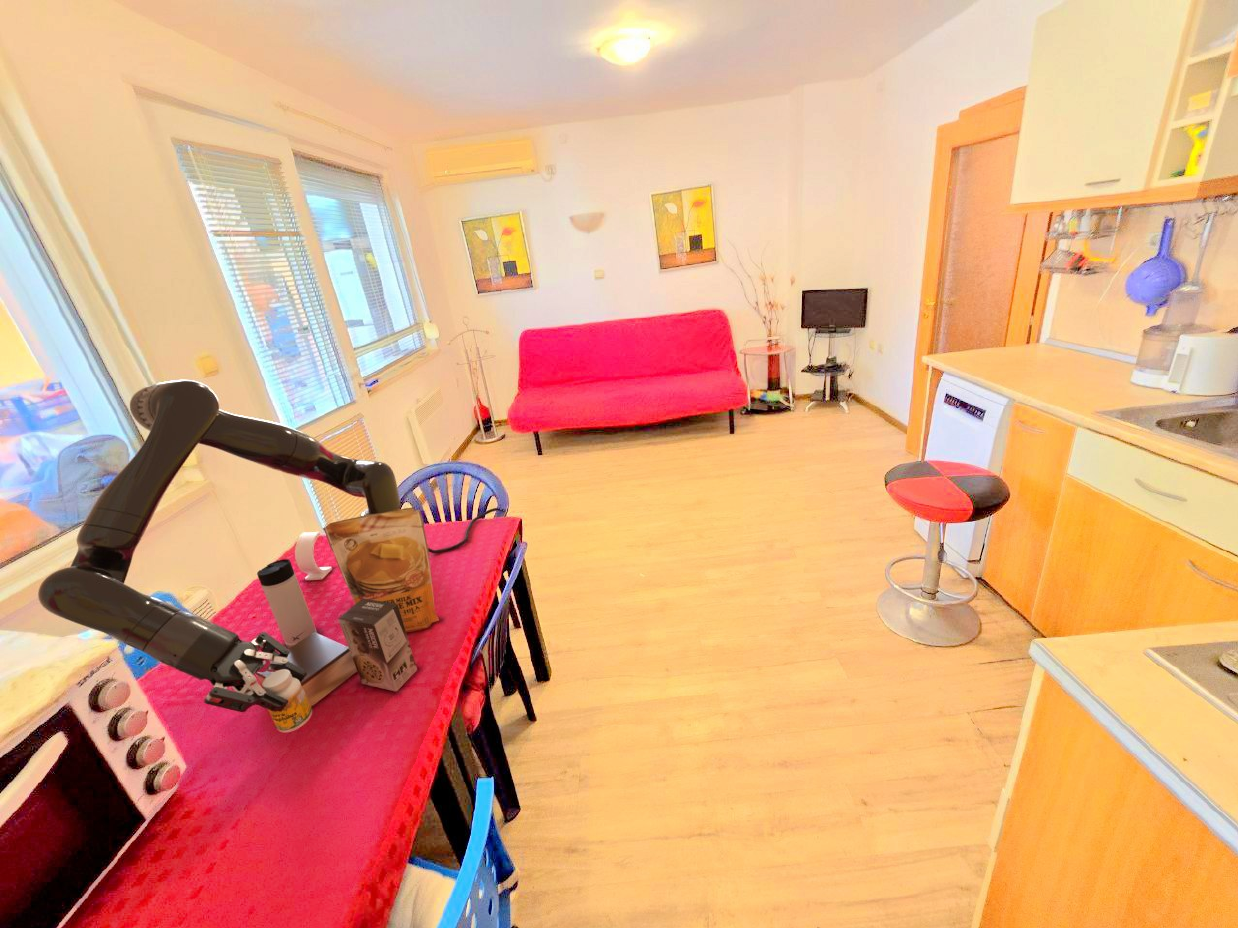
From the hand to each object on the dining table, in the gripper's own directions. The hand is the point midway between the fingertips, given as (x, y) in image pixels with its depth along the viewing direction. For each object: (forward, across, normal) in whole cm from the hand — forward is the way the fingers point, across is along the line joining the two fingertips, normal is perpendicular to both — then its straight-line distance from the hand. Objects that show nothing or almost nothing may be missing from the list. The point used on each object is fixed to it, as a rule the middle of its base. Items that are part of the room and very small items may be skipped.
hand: (294, 691), depth 84 cm
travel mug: (-3, +28, +19) cm, 34 cm away
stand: (+3, +14, +12) cm, 19 cm away
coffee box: (+14, +13, +2) cm, 19 cm away
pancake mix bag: (+12, +29, +3) cm, 32 cm away
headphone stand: (-10, +56, +26) cm, 62 cm away
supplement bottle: (+3, 0, +6) cm, 7 cm away
